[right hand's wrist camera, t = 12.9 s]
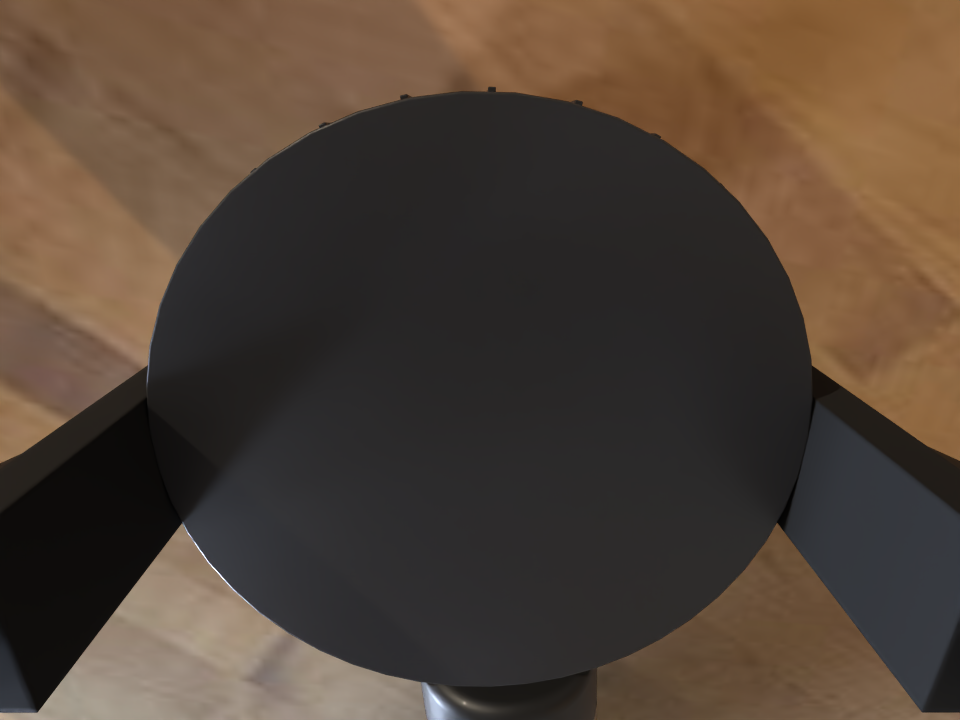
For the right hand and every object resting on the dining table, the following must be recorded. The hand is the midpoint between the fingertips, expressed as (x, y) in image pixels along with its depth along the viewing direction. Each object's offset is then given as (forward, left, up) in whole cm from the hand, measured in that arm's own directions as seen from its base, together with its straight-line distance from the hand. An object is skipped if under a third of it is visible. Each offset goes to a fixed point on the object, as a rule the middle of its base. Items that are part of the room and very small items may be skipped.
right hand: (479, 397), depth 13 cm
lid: (0, 0, +3) cm, 3 cm away
